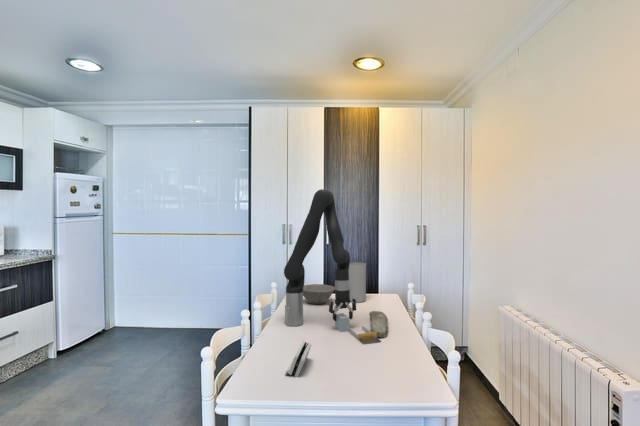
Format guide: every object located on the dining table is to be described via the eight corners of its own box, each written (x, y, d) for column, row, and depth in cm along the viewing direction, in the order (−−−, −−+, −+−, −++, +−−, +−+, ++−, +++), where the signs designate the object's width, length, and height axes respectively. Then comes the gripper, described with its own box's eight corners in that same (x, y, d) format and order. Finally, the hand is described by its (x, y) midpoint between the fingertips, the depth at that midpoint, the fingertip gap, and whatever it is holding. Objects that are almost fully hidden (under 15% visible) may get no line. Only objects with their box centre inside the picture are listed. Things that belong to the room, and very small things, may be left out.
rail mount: (363, 344, 156) (363, 338, 156) (347, 331, 173) (347, 325, 173) (380, 342, 159) (381, 335, 159) (363, 329, 176) (363, 323, 176)
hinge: (295, 357, 143) (302, 335, 142) (305, 361, 142) (313, 339, 141) (284, 376, 126) (293, 351, 126) (296, 381, 125) (305, 356, 125)
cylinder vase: (368, 299, 235) (368, 263, 235) (360, 303, 224) (361, 265, 224) (352, 297, 241) (352, 261, 241) (344, 301, 231) (344, 264, 231)
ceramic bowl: (296, 299, 234) (296, 285, 234) (328, 297, 241) (328, 283, 241) (304, 308, 213) (304, 292, 213) (339, 305, 220) (339, 290, 220)
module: (340, 332, 172) (340, 318, 172) (334, 327, 180) (335, 313, 179) (349, 331, 173) (349, 317, 173) (342, 326, 181) (342, 313, 181)
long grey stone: (368, 340, 164) (389, 342, 163) (368, 329, 164) (390, 331, 163) (368, 314, 199) (386, 316, 197) (369, 305, 199) (386, 307, 197)
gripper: (331, 291, 170) (332, 323, 170) (358, 288, 175) (358, 320, 175) (326, 288, 178) (327, 319, 178) (351, 285, 182) (352, 316, 182)
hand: (342, 319), depth 176 cm, fingers open, 8 cm apart
